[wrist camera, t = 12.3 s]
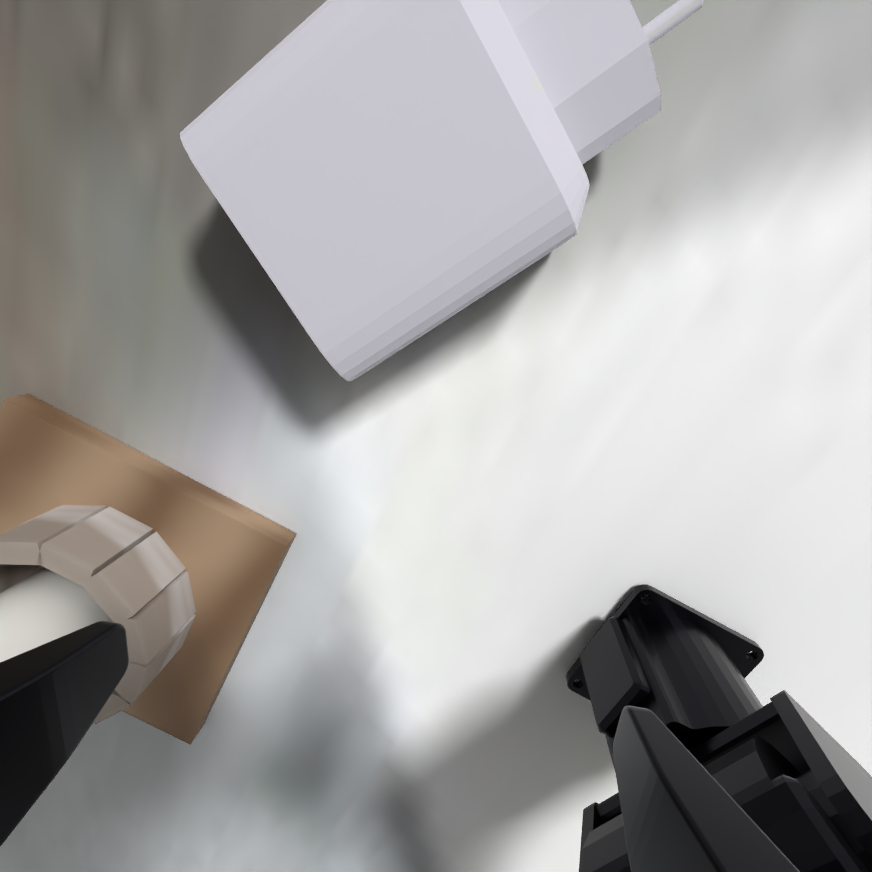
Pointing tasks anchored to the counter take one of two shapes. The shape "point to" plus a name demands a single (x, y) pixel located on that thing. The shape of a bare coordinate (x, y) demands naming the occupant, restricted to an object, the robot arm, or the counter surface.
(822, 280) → the counter surface
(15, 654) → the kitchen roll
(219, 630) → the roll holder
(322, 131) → the charger
